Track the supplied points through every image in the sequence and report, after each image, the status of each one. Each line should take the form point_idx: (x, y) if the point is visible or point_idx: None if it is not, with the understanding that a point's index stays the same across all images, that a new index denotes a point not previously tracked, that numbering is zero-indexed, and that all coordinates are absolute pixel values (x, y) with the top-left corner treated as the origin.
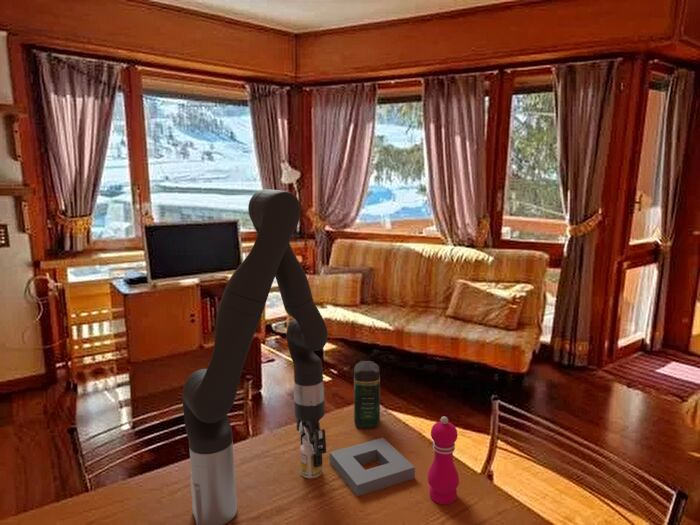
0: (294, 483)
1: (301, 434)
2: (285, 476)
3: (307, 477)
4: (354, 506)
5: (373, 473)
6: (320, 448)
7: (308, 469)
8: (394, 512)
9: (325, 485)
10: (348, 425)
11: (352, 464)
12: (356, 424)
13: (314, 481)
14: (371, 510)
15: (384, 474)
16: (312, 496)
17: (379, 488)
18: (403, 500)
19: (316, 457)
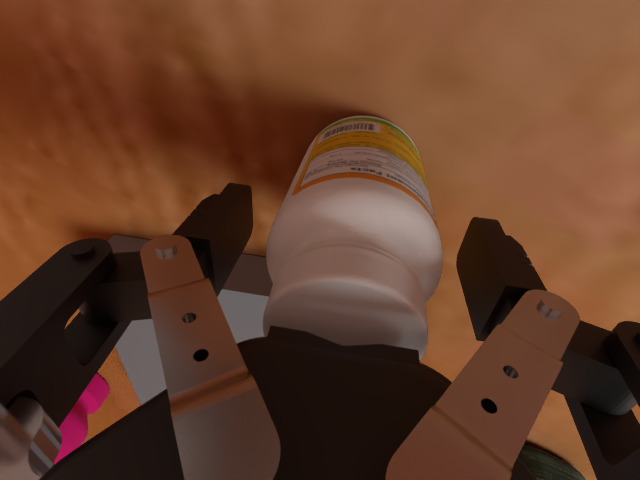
0: (322, 32)
1: (509, 314)
2: (431, 9)
3: (323, 130)
4: (57, 196)
5: (144, 340)
6: (116, 310)
7: (308, 154)
8: (16, 273)
9: (228, 174)
10: (559, 433)
11: (232, 326)
12: (520, 452)
13: (282, 147)
14: (29, 229)
15: (128, 357)
16: (162, 72)
17: None
18: (72, 317)
19: (175, 232)
